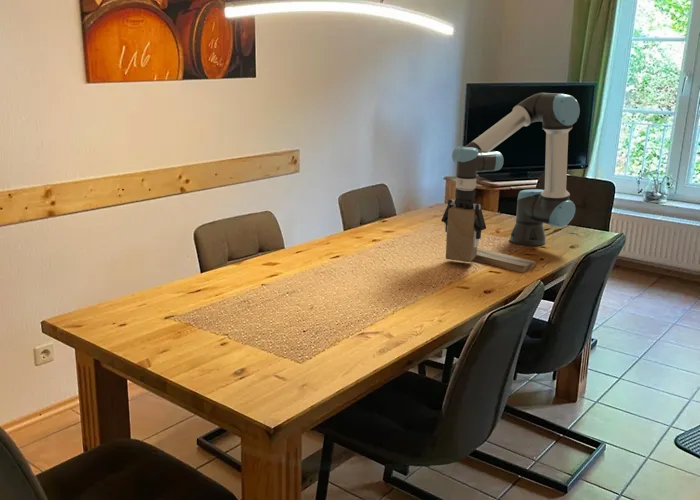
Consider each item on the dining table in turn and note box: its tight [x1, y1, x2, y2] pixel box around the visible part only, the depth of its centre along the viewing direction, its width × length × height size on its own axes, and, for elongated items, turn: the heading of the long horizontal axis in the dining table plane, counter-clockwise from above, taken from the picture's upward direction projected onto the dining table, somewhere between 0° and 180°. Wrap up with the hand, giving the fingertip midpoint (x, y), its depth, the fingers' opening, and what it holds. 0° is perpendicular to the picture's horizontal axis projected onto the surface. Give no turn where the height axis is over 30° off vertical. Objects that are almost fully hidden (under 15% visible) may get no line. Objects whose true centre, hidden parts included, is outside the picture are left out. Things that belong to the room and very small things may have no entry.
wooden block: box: [445, 204, 478, 263], centre depth 267 cm, size 10×10×20 cm
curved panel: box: [472, 247, 537, 273], centre depth 273 cm, size 9×28×4 cm, turn 47°
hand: (462, 243), depth 268 cm, fingers closed on wooden block, 12 cm apart
